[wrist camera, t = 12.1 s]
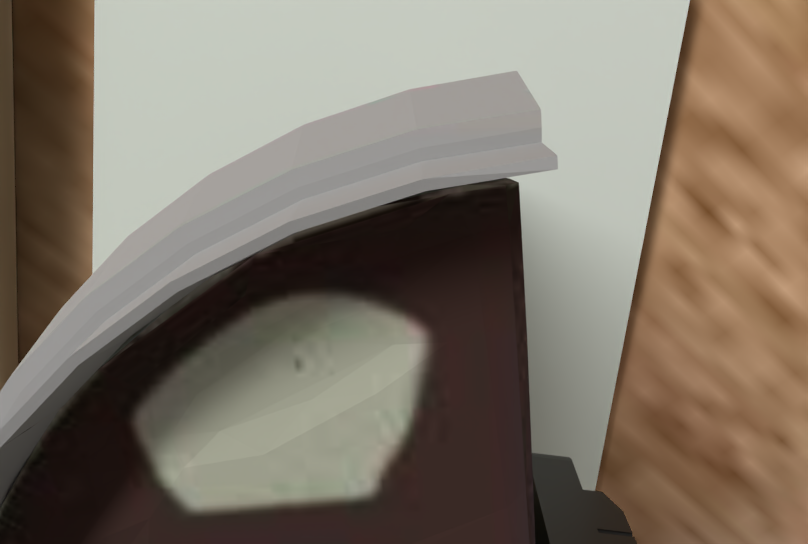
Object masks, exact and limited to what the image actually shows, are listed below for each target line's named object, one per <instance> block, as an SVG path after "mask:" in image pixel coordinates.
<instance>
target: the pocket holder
mask: <svg viewBox="0 0 808 544" xmlns="http://www.w3.org/2000/svg"><path fill="white" fill-rule="evenodd" d="M17 367H18V320H17V265H16V210H15V154H14V99H13V44H12V0H0V391H1V390H2V388H3V386H4V385H5V383H6V382H7V380H8V379H9V377H10V376H11V375H12V373H13V372H14V371H15V369H16V368H17Z"/></svg>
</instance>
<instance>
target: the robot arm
mask: <svg viewBox="0 0 808 544" xmlns="http://www.w3.org/2000/svg"><path fill="white" fill-rule="evenodd" d="M532 470H533V495H534V521H535V544H637V542H636V540H635V538H634V537H632V531H631V529H630V526H629V524H628V522H627V520H626V517H625V515H624V513H623V511H622V510H621V509H620V508H619V507H618V506H616V505H615V504H614V503H613V502H612V501H611V500H610V499H609V498H608V497H607V496H606V495H605V494H604V493H603V492H599V491H591V490H583V489H582V486H581V483H580V481H579V478H578V475H577V472H576V470H575V467H574V464H573V461H572V459H571V458H570V457H564V456H555V455H547V454H539V453H532Z"/></svg>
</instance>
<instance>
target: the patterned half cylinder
mask: <svg viewBox="0 0 808 544" xmlns="http://www.w3.org/2000/svg"><path fill="white" fill-rule="evenodd" d="M556 169H558V158H557V155H556V154H555V153H554V152H553V151H552V150H550V149H549V148H548V147H547V146H546V145H544V144H543V143H542V123H541V109H540V107H539V105H538V104H537V102H536V100H535V99H534V97H533V96H532V94H531V92H530V91H529V89H528V88H527V86H526V84H525V83H524V81H523V80H522V78H521V76H520V75H519V73H518V72H517V71H512V72H506V73H500V74H494V75H488V76H483V77H477V78H471V79H465V80H460V81H454V82H448V83H442V84H436V85H431V86H425V87H419V88H413V89H409V90H406V91H403V92H400V93H397V94H394V95H391V96H388V97H385V98H382V99H379V100H376V101H373V102H370V103H367V104H364V105H361V106H358V107H355V108H352V109H349V110H346V111H343V112H340V113H337V114H334V115H331V116H328V117H325V118H322V119H319V120H316V121H313V122H310V123H307V124H304V125H302V126H300V127H298V128H296V129H294V130H292V131H291V132H289V133H287V134H285V135H283V136H281V137H279V138H277V139H275V140H274V141H272V142H270V143H268V144H266V145H264V146H262V147H260V148H258V149H256V150H255V151H253V152H251V153H249V154H247V155H245V156H243V157H241V158H239V159H237V160H236V161H234V162H232V163H230V164H228V165H226V166H224V167H222V168H220V169H218V170H217V171H215V172H213V173H211V174H209V175H208V176H206V177H205V178H204V179H202V180H201V181H200V182H198V183H197V184H196V185H194V186H193V187H192V188H190V189H189V190H188V191H187V192H185V193H184V194H183V195H181V196H180V197H179V198H177V199H176V200H175V201H173V202H172V203H171V204H169V205H168V206H167V207H166V208H164V209H163V210H162V211H160V212H159V213H158V214H156V215H155V216H154V217H152V218H151V219H150V220H148V221H147V222H146V223H145V224H143V225H142V226H141V227H139V228H138V229H137V230H135V231H134V232H133V233H131V234H130V235H129V236H127V238H126V239H125V240H124V241H123V242H122V243H121V244H120V245H119V246H118V247H117V248H116V249H115V250H114V252H113V253H112V254H111V255H110V256H109V257H108V258H107V259H106V260H105V261H104V262H103V263H102V265H101V266H100V267H99V268H98V269H97V270H96V271H95V272H94V273H93V274H92V275H91V276H90V278H89V279H88V280H87V281H86V282H85V283H84V284H83V285H82V286H81V287H80V288H79V289H78V290H77V292H76V293H75V294H74V295H73V296H72V297H71V298H70V299H69V300H68V301H67V302H66V303H65V305H64V306H63V307H62V308H61V309H60V310H59V312H58V313H57V315H56V316H55V317H54V319H53V320H52V321H51V323H50V324H49V325H48V327H47V328H46V329H45V331H44V332H43V333H42V335H41V336H40V337H39V339H38V340H37V341H36V343H35V344H34V345H33V347H32V348H31V349H30V351H29V352H28V353H27V355H26V356H25V357H24V359H23V360H22V361H21V363H20V364H19V365H18V367H17V368H16V369H15V371H14V372H13V373H12V375H11V376H10V377H9V379H8V380H7V382H6V383H5V385H4V386H3V388H2V390H1V391H0V544H535V521H534V495H533V470H532V445H531V420H530V395H529V370H528V345H527V323H526V305H525V286H524V267H523V249H522V230H521V211H520V193H519V182H516V181H514V180H512V179H509V178H508V177H514V176H520V175H526V174H532V173H538V172H544V171H550V170H556Z"/></svg>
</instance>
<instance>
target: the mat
mask: <svg viewBox="0 0 808 544" xmlns="http://www.w3.org/2000/svg"><path fill="white" fill-rule="evenodd" d="M689 3H690V0H95V18H94V146H93V273H94V272H95V271H96V270H97V269H98V268H99V267H100V266H101V265H102V263H103V262H104V261H105V260H106V259H107V258H108V257H109V256H110V255H111V254H112V253H113V252H114V250H115V249H116V248H117V247H118V246H119V245H120V244H121V243H122V242H123V241H124V240H125V239H126V238H127V236H129V235H130V234H131V233H133V232H134V231H135V230H137V229H138V228H139V227H141V226H142V225H143V224H145V223H146V222H147V221H148V220H150V219H151V218H152V217H154V216H155V215H156V214H158V213H159V212H160V211H162V210H163V209H164V208H166V207H167V206H168V205H169V204H171V203H172V202H173V201H175V200H176V199H177V198H179V197H180V196H181V195H183V194H184V193H185V192H187V191H188V190H189V189H190V188H192V187H193V186H194V185H196V184H197V183H198V182H200V181H201V180H202V179H204V178H205V177H206V176H208V175H209V174H211V173H213V172H215V171H217V170H218V169H220V168H222V167H224V166H226V165H228V164H230V163H232V162H234V161H236V160H237V159H239V158H241V157H243V156H245V155H247V154H249V153H251V152H253V151H255V150H256V149H258V148H260V147H262V146H264V145H266V144H268V143H270V142H272V141H274V140H275V139H277V138H279V137H281V136H283V135H285V134H287V133H289V132H291V131H292V130H294V129H296V128H298V127H300V126H302V125H304V124H307V123H310V122H313V121H316V120H319V119H322V118H325V117H328V116H331V115H334V114H337V113H340V112H343V111H346V110H349V109H352V108H355V107H358V106H361V105H364V104H367V103H370V102H373V101H376V100H379V99H382V98H385V97H388V96H391V95H394V94H397V93H400V92H403V91H406V90H409V89H413V88H419V87H425V86H431V85H436V84H442V83H448V82H454V81H460V80H465V79H471V78H477V77H483V76H488V75H494V74H500V73H506V72H512V71H517V72H518V73H519V75H520V76H521V78H522V80H523V81H524V83H525V84H526V86H527V88H528V89H529V91H530V92H531V94H532V96H533V97H534V99H535V100H536V102H537V104H538V105H539V107H540V109H541V123H542V143H543V144H544V145H546V146H547V147H548V148H549V149H550V150H552V151H553V152H554V153H555V154H556V155H557V158H558V169H556V170H550V171H544V172H538V173H532V174H526V175H520V176H514V177H508V178H509V179H512V180H514V181H516V182H519V193H520V211H521V230H522V249H523V267H524V286H525V305H526V323H527V345H528V370H529V395H530V420H531V445H532V453H539V454H547V455H555V456H564V457H570V458H571V459H572V461H573V464H574V467H575V470H576V472H577V475H578V478H579V481H580V483H581V486H582V489H583V490H591V491H595V488H596V483H597V478H598V472H599V467H600V462H601V457H602V452H603V447H604V441H605V436H606V431H607V426H608V421H609V416H610V410H611V405H612V400H613V395H614V390H615V385H616V379H617V374H618V369H619V364H620V359H621V354H622V348H623V343H624V338H625V333H626V328H627V323H628V318H629V312H630V307H631V302H632V297H633V292H634V287H635V281H636V276H637V271H638V266H639V261H640V256H641V250H642V245H643V240H644V235H645V230H646V225H647V219H648V214H649V209H650V204H651V199H652V194H653V188H654V183H655V178H656V173H657V168H658V163H659V157H660V152H661V147H662V142H663V137H664V132H665V126H666V121H667V116H668V111H669V106H670V101H671V95H672V90H673V85H674V80H675V75H676V70H677V64H678V59H679V54H680V49H681V44H682V39H683V34H684V28H685V23H686V18H687V13H688V8H689Z"/></svg>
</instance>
